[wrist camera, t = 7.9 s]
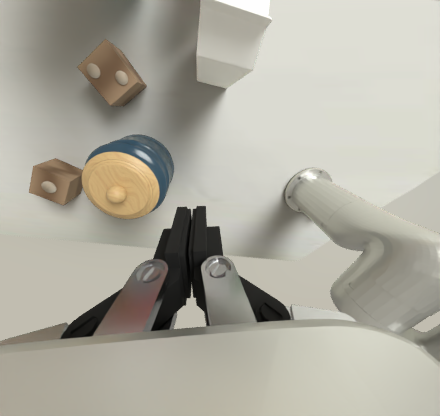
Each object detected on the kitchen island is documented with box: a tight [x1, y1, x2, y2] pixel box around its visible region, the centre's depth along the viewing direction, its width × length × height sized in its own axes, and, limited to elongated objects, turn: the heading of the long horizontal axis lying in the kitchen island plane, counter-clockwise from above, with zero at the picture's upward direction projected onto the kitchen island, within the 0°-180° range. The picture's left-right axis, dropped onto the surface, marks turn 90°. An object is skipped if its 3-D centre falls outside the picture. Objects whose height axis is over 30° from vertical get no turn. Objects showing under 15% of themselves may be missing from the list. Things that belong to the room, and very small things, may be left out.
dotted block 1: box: [29, 159, 83, 205], centre depth 37 cm, size 6×6×6 cm
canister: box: [82, 135, 174, 219], centre depth 33 cm, size 13×13×18 cm
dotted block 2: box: [78, 39, 146, 106], centre depth 30 cm, size 6×6×6 cm
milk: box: [196, 0, 272, 89], centre depth 23 cm, size 6×6×22 cm
